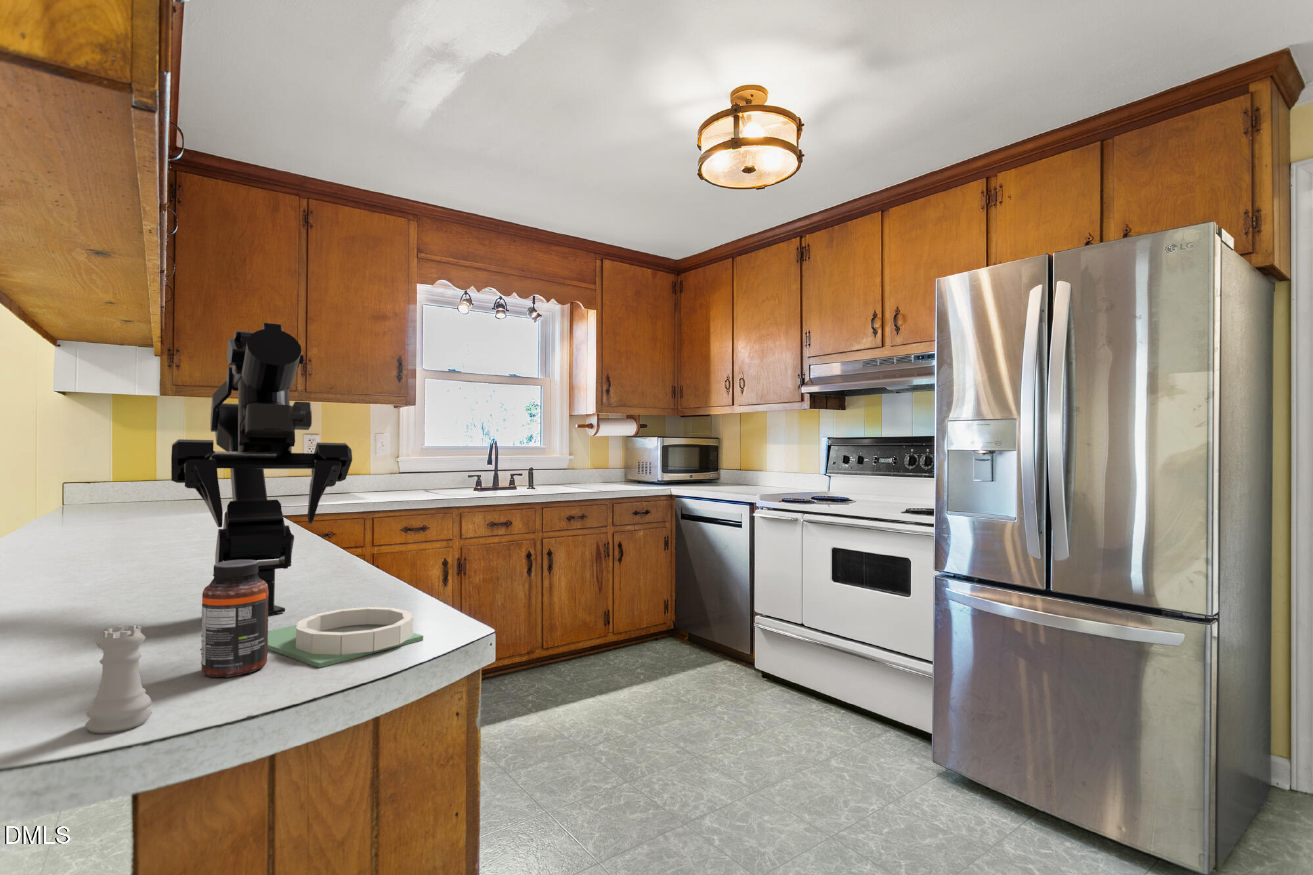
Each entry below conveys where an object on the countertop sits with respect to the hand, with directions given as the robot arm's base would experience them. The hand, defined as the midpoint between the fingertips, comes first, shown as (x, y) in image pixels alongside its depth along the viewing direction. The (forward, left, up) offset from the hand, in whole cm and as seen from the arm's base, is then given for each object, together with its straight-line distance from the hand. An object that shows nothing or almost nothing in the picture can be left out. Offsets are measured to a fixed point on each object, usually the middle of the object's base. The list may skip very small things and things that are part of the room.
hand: (267, 524), depth 78 cm
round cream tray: (+6, +7, -14) cm, 17 cm away
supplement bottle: (+5, -6, -15) cm, 17 cm away
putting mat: (+3, +6, -14) cm, 16 cm away
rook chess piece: (+12, -18, -15) cm, 26 cm away
